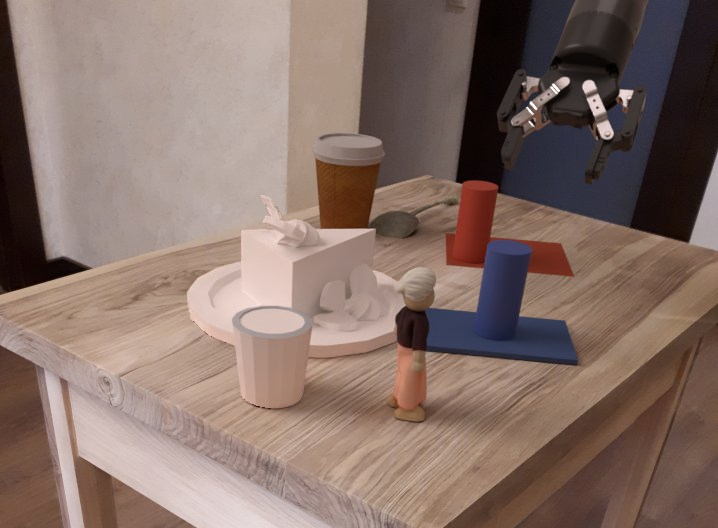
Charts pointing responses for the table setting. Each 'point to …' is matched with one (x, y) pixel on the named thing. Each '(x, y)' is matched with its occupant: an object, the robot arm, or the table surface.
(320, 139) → the disposable coffee cup
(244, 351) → the white tapered cup
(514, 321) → the blue cylinder
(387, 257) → the table surface
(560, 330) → the blue mat
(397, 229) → the soupspoon
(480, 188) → the red cylinder
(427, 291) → the grandmother figurine
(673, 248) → the table surface
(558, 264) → the red mat
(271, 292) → the dish
